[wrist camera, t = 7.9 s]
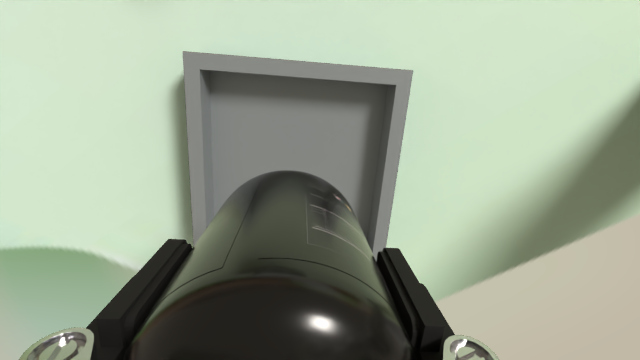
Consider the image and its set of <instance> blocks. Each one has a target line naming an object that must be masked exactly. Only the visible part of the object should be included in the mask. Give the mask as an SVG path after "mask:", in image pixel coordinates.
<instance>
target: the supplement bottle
mask: <svg viewBox="0 0 640 360" xmlns="http://www.w3.org/2000/svg"><path fill="white" fill-rule="evenodd" d="M122 360H417V358H416V355H415V351H414V348H413V346H412V343H411V340H410V338H409V335H408V332H407V330H406V328H405V325H404V323H403V321H402V319H401V316H400V314H399V312H398V310H397V307H396V305H395V303H394V301H393V298H392V296H391V294H390V292H389V289H388V287H387V285H386V283H385V280H384V278H383V276H382V274H381V271H380V269H379V267H378V265H377V262H376V260H375V258H374V256H373V253H372V251H371V249H370V247H369V244H368V242H367V240H366V237H365V235H364V233H363V231H362V228H361V226H360V224H359V222H358V219H357V217H356V215H355V213H354V211H353V209H352V207H351V206H350V204H349V202H348V201H347V200H346V198H345V197H344V196H343V195H342V193H341V192H340V191H339V190H338V189H336V188H335V187H334V186H333V185H331V184H330V183H329V182H327V181H325V180H324V179H322V178H320V177H318V176H315V175H312V174H310V173H306V172H301V171H294V170H280V171H272V172H268V173H264V174H261V175H258V176H256V177H254V178H252V179H250V180H248V181H247V182H245V183H244V184H242V185H241V186H239V187H238V188H237V189H236V190H235V191H234V192H233V193H232V194H231V195H230V196H229V197H228V199H227V200H226V201H225V203H224V204H223V205H222V207H221V208H220V209H219V211H218V212H217V214H216V215H215V216H214V218H213V219H212V221H211V222H210V224H209V225H208V227H207V228H206V230H205V231H204V233H203V234H202V235H201V237H200V238H199V240H198V241H197V243H196V244H195V246H194V247H193V249H192V250H191V252H190V253H189V254H188V256H187V257H186V259H185V260H184V262H183V263H182V265H181V266H180V268H179V269H178V271H177V272H176V273H175V275H174V276H173V278H172V279H171V281H170V282H169V284H168V285H167V287H166V288H165V290H164V291H163V292H162V294H161V295H160V297H159V298H158V300H157V301H156V303H155V304H154V306H153V307H152V309H151V310H150V311H149V313H148V314H147V316H146V317H145V319H144V320H143V322H142V323H141V325H140V327H139V329H138V330H137V332H136V334H135V336H134V337H133V339H132V341H131V343H130V344H129V346H128V348H127V350H126V352H125V354H124V357H123V359H122Z"/></svg>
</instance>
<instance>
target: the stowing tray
mask: <svg viewBox="0 0 640 360" xmlns="http://www.w3.org/2000/svg"><path fill="white" fill-rule="evenodd" d="M183 65H184V83H185V101H186V119H187V137H188V155H189V173H190V191H191V209H192V227H193V245H194V246H195V244H196V243H197V241H198V240H199V238H200V237H201V235H202V234H203V233H204V231H205V230H206V228H207V227H208V225H209V224H210V222H211V221H212V219H213V218H214V216H215V215H216V214H217V212H218V211H219V209H220V208H221V207H222V205H223V204H224V203H225V201H226V200H227V199H228V197H229V196H230V195H231V194H232V193H233V192H234V191H235V190H236V189H237V188H238V187H239V186H241V185H242V184H244V183H245V182H247V181H248V180H250V179H252V178H254V177H256V176H258V175H261V174H264V173H268V172H272V171H280V170H294V171H301V172H306V173H310V174H312V175H315V176H318V177H320V178H322V179H324V180H325V181H327V182H329V183H330V184H331V185H333V186H334V187H335V188H336V189H338V190H339V191H340V192H341V193H342V195H343V196H344V197H345V198H346V200H347V201H348V202H349V204H350V206H351V207H352V209H353V211H354V213H355V215H356V217H357V219H358V222H359V224H360V226H361V228H362V231H363V233H364V235H365V237H366V240H367V242H368V244H369V247H370V249H371V251H372V253H373V256H374V258H375V260H376V261H377V254H378V252H379V251H382V250H383V248H386V243H387V236H388V230H389V223H390V217H391V210H392V204H393V197H394V191H395V184H396V178H397V172H398V165H399V159H400V152H401V146H402V139H403V133H404V126H405V120H406V113H407V107H408V100H409V94H410V87H411V81H412V74H413V70H401V69H389V68H377V67H365V66H353V65H341V64H330V63H318V62H306V61H294V60H282V59H270V58H258V57H246V56H234V55H222V54H210V53H198V52H186V51H183Z"/></svg>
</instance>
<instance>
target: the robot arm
mask: <svg viewBox="0 0 640 360" xmlns="http://www.w3.org/2000/svg"><path fill="white" fill-rule="evenodd" d="M191 250H192V246H191V244H187V242H186V240H178V239H168V240H167V241H166V242H165V243H164V245H163V246H162V247H161V248H160V249H159V250H158V251H157V252H156V253H155V254H154V256H153V257H152V258H151V259H150V260H149V261H148V262H147V263H146V264H145V265H144V266H143V268H142V269H141V270H140V271H139V272H138V273H137V274H136V275H135V276H134V277H133V278H132V279H131V280H130V281H129V282H128V283H127V284H126V285H125V286H124V287H123V288H122V289H121V291H120V292H119V293H118V294H117V295H116V296H115V297H114V298H113V299H112V300H111V302H110V303H109V304H108V305H107V306H106V307H105V308H104V309H103V310H102V311H101V312H100V313H99V314H98V316H97V317H96V318H95V319H94V320H93V321H92V322H91V323H90V324H89V325H88V326H87V328H69V329H64V330H61V331H58V332H55V333H52V334H50V335H48V336H46V337H44V338H42V339H40V340H39V341H37V342H36V343H34V344H33V345H31V346H30V347H29V348H28V349H27V350H26V351H25V352H24V353H23V355H22V356H21V357H20V359H19V360H122V359H123V357H124V354H125V352H126V350H127V348H128V346H129V344H130V343H131V341H132V339H133V337H134V336H135V334H136V332H137V330H138V329H139V327H140V325H141V323H142V322H143V320H144V319H145V317H146V316H147V314H148V313H149V311H150V310H151V309H152V307H153V306H154V304H155V303H156V301H157V300H158V298H159V297H160V295H161V294H162V292H163V291H164V290H165V288H166V287H167V285H168V284H169V282H170V281H171V279H172V278H173V276H174V275H175V273H176V272H177V271H178V269H179V268H180V266H181V265H182V263H183V262H184V260H185V259H186V257H187V256H188V254H189V253H190V252H191ZM376 262H377V265H378V267H379V269H380V271H381V274H382V276H383V278H384V280H385V283H386V285H387V287H388V289H389V292H390V294H391V296H392V298H393V301H394V303H395V305H396V307H397V310H398V312H399V314H400V316H401V319H402V321H403V323H404V325H405V328H406V330H407V332H408V335H409V338H410V340H411V343H412V346H413V348H414V351H415V355H416V358H417V360H499V359H498V357H497V356H496V355H495V353H494V352H493V351H492V350H491V349H490V348H488V347H487V346H486V345H484V344H483V343H481V342H480V341H478V340H476V339H474V338H471V337H468V336H464V335H455V334H454V333H453V331H452V329H451V328H450V326H449V325H448V323H447V322H446V320H445V318H444V317H443V315H442V313H441V311H440V310H439V308H438V307H437V305H436V303H435V302H434V300H433V298H432V297H431V295H430V294H429V292H428V290H427V289H426V287H425V286H424V285H423V284H421V283H419V281H418V280H417V278H416V276H415V275H414V273H413V271H412V270H411V268H410V266H409V265H408V263H407V261H406V260H405V258H404V256H403V255H402V253H401V251H400V250H399V249H398V248H383V250H382V251H379V252H378V254H377V261H376Z"/></svg>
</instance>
